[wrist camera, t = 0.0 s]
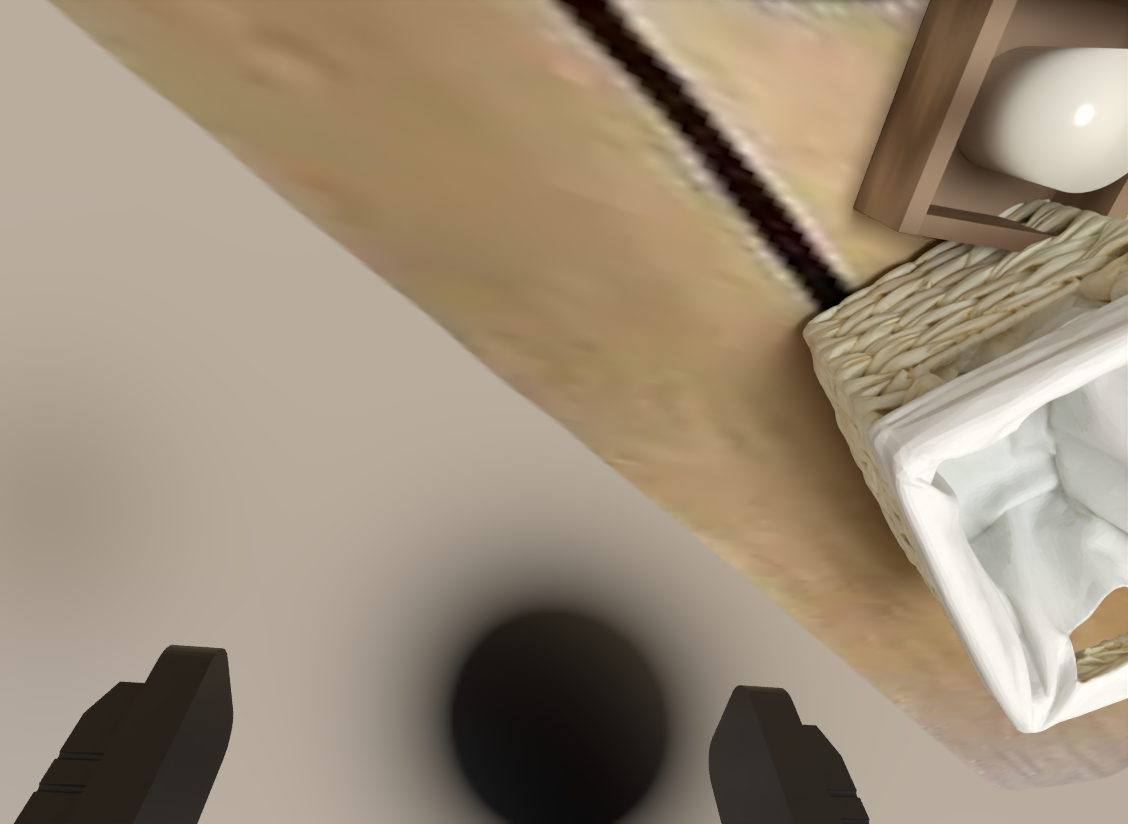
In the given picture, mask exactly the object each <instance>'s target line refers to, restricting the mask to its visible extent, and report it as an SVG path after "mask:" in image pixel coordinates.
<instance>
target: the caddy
mask: <svg viewBox="0 0 1128 824" xmlns="http://www.w3.org/2000/svg"><path fill="white" fill-rule="evenodd" d="M1022 46H1056V47H1086V48H1116V49H1128V0H930V3H929V6H928V9H927V11H926V14H925V17H924V19H923V22H922V25H921V27H920V30H919V33H918V35H917V38H916V41H915V43H914V46H913V49H912V51H911V54H910V57H909V60H908V62H907V65H906V68H905V70H904V73H903V76H902V78H901V81H900V84H899V86H898V89H897V92H896V94H895V97H894V100H893V102H892V105H891V108H890V111H889V113H888V116H887V119H886V121H885V124H884V127H883V129H882V132H881V135H880V137H879V140H878V143H877V145H876V148H875V151H874V153H873V156H872V159H871V162H870V164H869V167H868V170H867V172H866V175H865V178H864V180H863V183H862V186H861V188H860V191H859V194H858V196H857V199H856V202H855V204H854V207H853V208H854V209H856V210H858V211H860V212H862V213H864V214H866V215H868V216H869V217H871V218H873V219H875V220H877V221H879V222H881V223H882V224H884V225H886V226H888V227H890V228H892V229H894V230H896V231H897V232H902V233H908V234H914V235H920V236H926V237H932V238H938V239H944V240H949V241H955V242H961V243H967V244H973V245H979V246H985V247H991V248H997V249H1003V250H1009V251H1015V252H1021V251H1022V250H1024V249H1025V248H1027V247H1028V246H1030V245H1032V244H1034V243H1037V242H1040V241H1043V240H1045V239H1048V238H1051V237H1054V236H1059V235H1055V234H1053V233H1048V232H1043V231H1039V230H1036V229H1034V228H1030V227H1028V226H1025V225H1022V222H1017V221H1013V220H1009V219H1007V218H1003V217H999V215H1000V214H1002V213H1003V212H1004V211H1006V210H1008V209H1009V208H1011V207H1013V206H1015V205H1017V204H1020V203H1025V202H1027V201H1028V200H1030V199H1041V200H1044V199H1049V200H1050V202H1056V203H1060V204H1062V205H1064V206H1071V207H1075V208H1078V209H1080V210H1082V211H1084V210H1089V211H1093V212H1096V213H1098V214H1100V215H1103V216H1108V217H1112V218H1122V219H1126V217H1127V215H1128V173H1127V174H1125V175H1124V176H1122V177H1121V178H1119V179H1118V180H1116V181H1115V182H1113V183H1111V184H1109V185H1107V186H1105V187H1102V188H1100V189H1097V190H1093V191H1089V192H1084V193H1069V192H1064V191H1060V190H1057V189H1053V188H1050V187H1046V186H1043V185H1040V184H1036V183H1033V182H1030V181H1026V180H1023V179H1020V178H1016V177H1013V176H1010V175H1006V174H1003V173H1000V172H996V171H993V170H990V169H986V168H983V167H980V166H977V165H975V164H973V163H971V162H970V161H968V160H967V159H966V158H965V157H964V156H963V154H962V153H961V151H960V150H959V147H958V145H957V140H958V138H959V136H960V133H961V131H962V129H963V126H964V124H965V122H966V119H967V117H968V115H969V112H970V110H971V108H972V105H973V103H974V101H975V98H976V96H977V94H978V91H979V89H980V86H981V84H982V82H983V79H984V77H985V75H986V72H987V70H988V68H989V65H990V63H991V61H992V59H994V58H995V57H997V56H998V55H1000V54H1002V53H1004V52H1006V51H1008V50H1011V49H1014V48H1017V47H1022Z"/></svg>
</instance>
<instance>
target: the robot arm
mask: <svg viewBox="0 0 1128 824" xmlns="http://www.w3.org/2000/svg"><path fill="white" fill-rule="evenodd" d="M232 724H233V705H232V695H231V687H230V677H229V667H228V657H227V653H226V650H225V649H222V648H209V647H194V646H179V645H170V646H169V647H167V648H166V649H165V650H164V651H163V653H162V654H161V656H160V657H159V659H158V661H157V662H156V664H155V666H154V668H153V669H152V671H151V673H150V675H149V677H148V678H147V680H146V682H145V683H133V682H119V683H118V684H117V685H116V686H115V687H113V688H112V689H111V690H110V691H109V692H108V693H106V694H105V695H104V696H103V697H102V698H101V699H100V700H99V701H97V702H96V703H95V704H94V705H93V706H91V707H90V708H89V709H88V710H87V711H86V712H85V713H84V714H83V715H82V717H81V718H80V720H79V722H78V723H77V725H76V726H75V728H74V729H73V731H72V733H71V734H70V736H69V737H68V739H67V741H66V742H65V744H64V745H63V747H62V748H61V750H60V754H59V757H58V758H57V759H54V761H53V763H52V764H51V766H50V767H49V769H48V771H47V772H46V774H45V775H44V777H43V778H42V780H41V782H40V783H39V788H38V790H37V791H36V792H34V793H33V794H32V796H31V797H30V799H29V801H28V802H27V804H26V805H25V807H24V809H23V810H22V812H21V813H20V815H19V816H18V818H17V819H16V821H15V823H14V824H197V823H198V821H199V818H200V815H201V813H202V810H203V808H204V805H205V803H206V801H207V798H208V796H209V793H210V791H211V788H212V786H213V783H214V781H215V778H216V776H217V774H218V771H219V769H220V766H221V764H222V761H223V758H224V756H225V753H226V750H227V747H228V743H229V739H230V734H231V730H232ZM709 774H710V780H711V784H712V788H713V792H714V796H715V800H716V803H717V808H718V812H719V816H720V819H721V823H722V824H869V817H868V815H867V813H866V811H865V808H864V806H863V804H862V802H861V799H860V798H858V797H857V795H856V791H857V790H856V788H855V786H854V784H853V781H852V779H851V777H850V775H849V773H848V770H847V768H846V765H845V763H844V761H843V759H842V757H841V755H840V754H839V753H838V751H837V750H836V749H835V748H834V747H833V745H832V744H831V743H830V742H829V741H828V739H827V738H826V737H825V736H824V734H823V733H822V732H821V731H820V730H819V728H818V727H817V726H815V725H802V723H801V721H800V718H799V716H798V714H797V711H796V709H795V706H794V704H793V701H792V699H791V697H790V696H789V694H788V693H787V691H786V690H784V689H782V688H773V687H758V686H742V685H739V686H737V687H736V688H735V689H734V691H733V692H732V695H731V697H730V699H729V701H728V704H727V706H726V708H725V711H724V713H723V715H722V718H721V720H720V722H719V724H718V726H717V729H716V731H715V734H714V736H713V738H712V741H711V744H710V749H709Z"/></svg>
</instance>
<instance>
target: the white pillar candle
mask: <svg viewBox="0 0 1128 824" xmlns="http://www.w3.org/2000/svg"><path fill="white" fill-rule="evenodd" d="M957 145H958V147H959V150H960V151H961V153H962V154H963V156H964V157H965V158H966V159H967V160H968V161H970V162H971V163H973V164H975V165H977V166H980V167H983V168H986V169H990V170H993V171H996V172H1000V173H1003V174H1006V175H1010V176H1013V177H1016V178H1020V179H1023V180H1026V181H1030V182H1033V183H1036V184H1040V185H1043V186H1046V187H1050V188H1053V189H1057V190H1060V191H1064V192H1069V193H1084V192H1089V191H1093V190H1097V189H1100V188H1102V187H1105V186H1107V185H1109V184H1111V183H1113V182H1115V181H1116V180H1118V179H1119V178H1121V177H1122V176H1124V175H1125V174H1127V173H1128V49H1116V48H1086V47H1056V46H1022V47H1017V48H1014V49H1011V50H1008V51H1006V52H1004V53H1002V54H1000V55H998V56H997V57H995V58H994V59H992V61H991V63H990V65H989V68H988V70H987V72H986V75H985V77H984V79H983V82H982V84H981V86H980V89H979V91H978V94H977V96H976V98H975V101H974V103H973V105H972V108H971V110H970V112H969V115H968V117H967V119H966V122H965V124H964V126H963V129H962V131H961V133H960V136H959V138H958V140H957Z"/></svg>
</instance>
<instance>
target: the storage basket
mask: <svg viewBox="0 0 1128 824" xmlns="http://www.w3.org/2000/svg"><path fill="white" fill-rule="evenodd" d="M999 217H1003V218H1007V219H1009V220H1013V221H1017V222H1022V225H1025V226H1028V227H1030V228H1034V229H1036V230H1039V231H1043V232H1048V233H1053V234H1055V235H1059V236H1054V237H1051V238H1048V239H1045V240H1043V241H1040V242H1037V243H1034V244H1032V245H1030V246H1028V247H1027V248H1025V249H1024V250H1022V251H1021V252H1015V251H1009V250H1003V249H997V248H991V247H985V246H979V245H973V244H967V243H961V242H955V241H949V240H947V241H945V242H942V243H940V244H938V245H937V246H935V247H933V248H932V249H930V250H929V251H927V252H925V253H924V254H923V255H922V256H921V257H919V258H918V259H917V260H916V261H914V262H912V263H910V262H908V263H906V264H903V265H901V266H899V267H897V268H896V269H894V270H892V271H890V272H888V273H887V274H885V275H884V276H883V277H881V278H880V279H878V280H877V281H876V282H875V283H874V284H873V285H871V286H869V287H867V288H864V289H862V290H859V291H857V292H855V293H854V294H852V295H850V296H848V297H847V298H845V299H844V300H843V301H842V302H841V303H840V304H839V305H837V306H834V307H832V308H830V309H828V310H826V311H824V312H822V313H820V314H819V315H818V316H816V317H815V318H813V319H812V320H811V321H810V322H808V323H807V325H806V327H805V328H804V330H803V337H804V339H805V341H806V343H807V345H808V346H809V348H810V351H811V353H812V357H813V366H814V371H815V373H816V375H817V378H818V380H819V382H820V384H821V386H822V387H823V388H824V391H825V393H826V395H827V397H828V398H829V399H830V401H831V404H832V407H833V408H834V409H835V417H836V421H837V424H838V427H839V429H840V431H841V432H842V434H843V435H844V437H845V439H846V441H847V443H848V445H849V447H850V451H851V454H852V456H853V458H854V460H855V462H856V464H857V465H858V467H859V468H860V469H861V470H862V472H863V476H864V480H865V482H866V484H867V486H868V487H869V489H870V490H871V492H872V493H873V495H874V497H875V498H876V499H877V501H878V502H879V505H880V507H881V510H882V513H883V515H884V517H885V519H886V521H887V523H888V525H889V526H890V529H891V531H892V533H893V534H894V536H895V537H896V540H897V542H898V543H899V545H900V546H901V548H902V549H903V550H904V551H905V554H906V556H907V558H908V560H909V561H910V562H911V563H912V564H913V565H915V566H916V568H917V570H918V571H919V573H920V574H921V575H922V577H923V581H924V583H925V584H926V585H927V586H928V588H929V589H930V590H931V591H932V593H933V595H934V599H935V600H936V601H937V602H938V603H939V604H940V605H941V606H942V609H943V611H944V613H945V615H946V617H947V618H948V619H949V620H950V622H951V625H952V627H953V629H954V630H955V632H956V634H957V636H958V637H959V639H960V641H961V643H962V645H963V647H964V649H965V651H966V653H967V655H968V657H969V659H970V661H971V663H972V665H973V666H974V668H975V670H976V672H977V674H978V675H979V677H980V679H981V681H982V683H983V685H984V686H985V688H986V689H987V690H988V692H989V693H990V694H991V695H992V696H993V697H994V698H995V699H996V701H997V702H998V704H999V705H1000V706H1001V708H1002V709H1003V711H1004V712H1005V714H1006V716H1007V717H1008V719H1009V720H1010V721H1011V722H1012V724H1013V725H1014V726H1015V728H1016V729H1017V730H1019V731H1021V732H1024V733H1037V732H1040V731H1044V730H1046V729H1047V728H1049V727H1051V726H1053V725H1055V724H1057V723H1059V722H1062V721H1064V720H1068V719H1071V718H1074V717H1077V716H1080V715H1083V714H1086V713H1088V712H1091V711H1094V710H1096V709H1099V708H1102V707H1104V706H1107V705H1110V704H1112V703H1115V702H1118V701H1121V700H1123V699H1126V698H1128V633H1127V634H1126V635H1120V636H1119V637H1117V638H1115V639H1112V640H1104V641H1101V643H1100V644H1099V645H1097V646H1094V647H1091V648H1087V649H1084V650H1082V651H1079V652H1076V653H1074V651H1073V646H1072V643H1071V641H1070V639H1069V635H1070V634H1071V633H1072V632H1073V630H1074V629H1075V628H1077V627H1078V626H1079V625H1081V624H1082V623H1083V622H1084V621H1085V620H1086V619H1088V618H1089V617H1090V616H1091V615H1092V613H1093V612H1094V611H1095V610H1096V608H1097V607H1098V606H1099V604H1100V603H1101V602H1102V600H1103V599H1104V598H1105V597H1106V596H1107V595H1108V594H1109V593H1110V592H1112V591H1113V590H1114V589H1117V588H1120V587H1124V586H1126V587H1127V588H1128V220H1126V219H1122V218H1112V217H1108V216H1103V215H1100V214H1098V213H1096V212H1093V211H1089V210H1084V211H1082V210H1080V209H1078V208H1075V207H1071V206H1064V205H1062V204H1060V203H1056V202H1050V200H1049V199H1044V200H1041V199H1030V200H1028V201H1027V202H1025V203H1020V204H1017V205H1015V206H1013V207H1011V208H1009V209H1008V210H1006V211H1004V212H1003V213H1002V214H1000V215H999Z"/></svg>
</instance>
